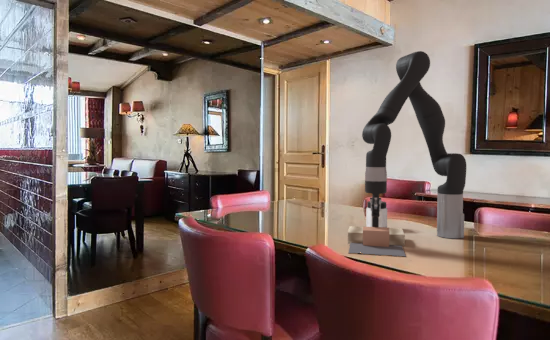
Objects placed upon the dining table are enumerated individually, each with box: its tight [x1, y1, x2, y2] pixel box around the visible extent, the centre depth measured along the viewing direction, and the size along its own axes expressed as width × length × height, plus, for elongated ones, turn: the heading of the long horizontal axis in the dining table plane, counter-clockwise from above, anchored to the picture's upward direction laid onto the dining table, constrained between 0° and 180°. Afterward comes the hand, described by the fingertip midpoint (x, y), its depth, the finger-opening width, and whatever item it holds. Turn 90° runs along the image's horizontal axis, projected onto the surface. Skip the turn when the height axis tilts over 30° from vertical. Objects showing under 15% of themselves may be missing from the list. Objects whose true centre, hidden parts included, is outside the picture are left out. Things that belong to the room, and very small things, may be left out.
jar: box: [365, 200, 388, 228], centre depth 159 cm, size 9×8×12 cm
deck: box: [347, 225, 406, 247], centre depth 136 cm, size 20×12×4 cm, turn 75°
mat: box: [348, 243, 407, 258], centre depth 124 cm, size 18×14×1 cm
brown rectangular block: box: [362, 226, 390, 247], centre depth 128 cm, size 9×6×3 cm
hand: (375, 227), depth 129 cm, fingers closed
